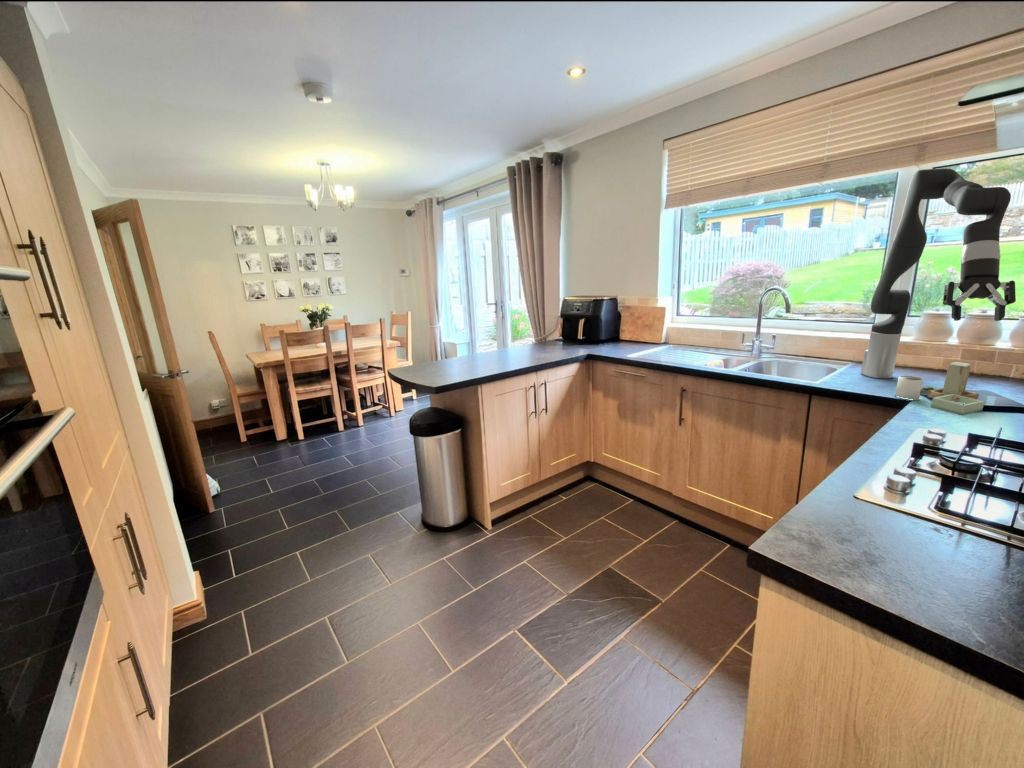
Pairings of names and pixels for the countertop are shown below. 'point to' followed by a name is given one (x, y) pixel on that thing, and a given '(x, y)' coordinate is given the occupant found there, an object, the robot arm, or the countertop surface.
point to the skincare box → (956, 378)
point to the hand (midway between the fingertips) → (977, 320)
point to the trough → (961, 409)
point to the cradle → (938, 392)
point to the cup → (909, 387)
